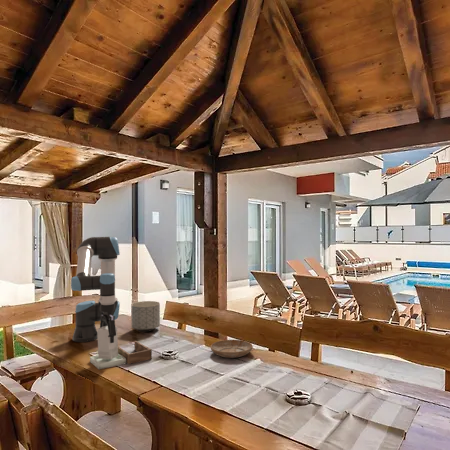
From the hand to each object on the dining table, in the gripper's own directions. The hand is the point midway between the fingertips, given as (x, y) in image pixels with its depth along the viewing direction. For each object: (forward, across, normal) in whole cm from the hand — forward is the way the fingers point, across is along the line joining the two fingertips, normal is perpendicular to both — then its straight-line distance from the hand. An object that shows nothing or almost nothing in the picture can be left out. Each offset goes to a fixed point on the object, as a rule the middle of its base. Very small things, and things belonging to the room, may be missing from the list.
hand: (107, 346), depth 197 cm
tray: (+8, 0, 0) cm, 8 cm away
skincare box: (+6, 0, 0) cm, 6 cm away
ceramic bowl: (+9, +29, +59) cm, 66 cm away
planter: (+9, -46, +43) cm, 64 cm away
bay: (+8, -1, +14) cm, 16 cm away
